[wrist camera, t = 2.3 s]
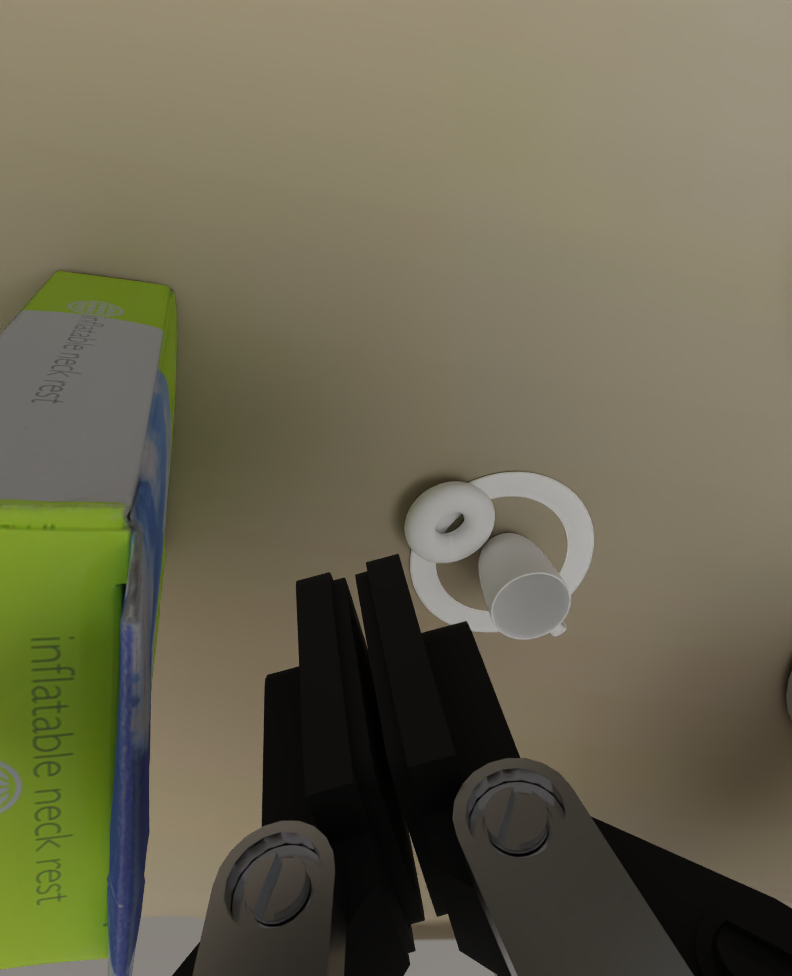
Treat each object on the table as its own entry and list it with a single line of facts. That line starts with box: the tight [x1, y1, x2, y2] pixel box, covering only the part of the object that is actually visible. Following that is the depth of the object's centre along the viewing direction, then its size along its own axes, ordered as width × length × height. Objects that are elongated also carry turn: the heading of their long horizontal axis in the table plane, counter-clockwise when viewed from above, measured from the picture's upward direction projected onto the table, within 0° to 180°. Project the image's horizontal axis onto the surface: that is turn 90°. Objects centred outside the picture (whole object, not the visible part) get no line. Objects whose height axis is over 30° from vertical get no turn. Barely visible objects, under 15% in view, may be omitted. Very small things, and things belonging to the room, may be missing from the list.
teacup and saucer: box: [404, 472, 594, 640], centre depth 28 cm, size 9×8×4 cm
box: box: [0, 271, 177, 976], centre depth 17 cm, size 11×4×17 cm, turn 169°
